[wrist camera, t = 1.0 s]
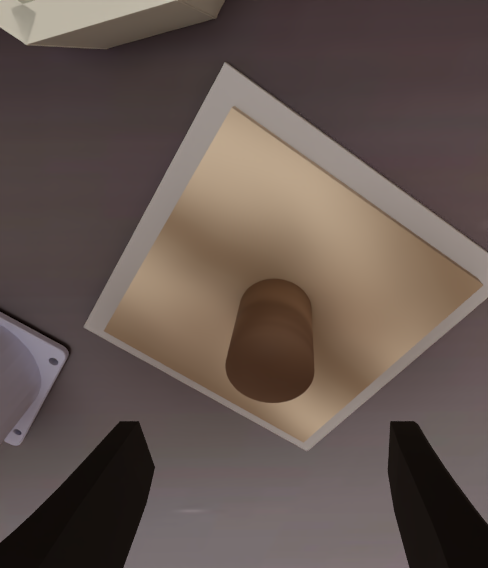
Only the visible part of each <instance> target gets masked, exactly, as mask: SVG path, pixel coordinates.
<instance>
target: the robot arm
mask: <svg viewBox="0 0 488 568" xmlns="http://www.w3.org/2000/svg"><path fill="white" fill-rule="evenodd" d="M68 356H69V352H68V350H67V349H66V348H65V347H64V346H63V345H61V344H59V343H57V342H55V341H53V340H52V339H50V338H48V337H46V336H44V335H42V334H40V333H39V332H37V331H35V330H33V329H31V328H29V327H27V326H26V325H24V324H22V323H20V322H18V321H16V320H14V319H13V318H11V317H9V316H7V315H5V314H3V313H2V312H0V444H1V443H2V442H3V441H5V442H7V443H9V444H11V445H14V446H17V445H20V444H21V443H22V441H23V440H24V438H25V436H26V434H27V433H28V431H29V429H30V427H31V425H32V423H33V421H34V419H35V418H36V416H37V414H38V412H39V410H40V408H41V406H42V405H43V403H44V401H45V399H46V397H47V395H48V393H49V391H50V390H51V388H52V386H53V384H54V382H55V380H56V378H57V377H58V375H59V373H60V371H61V369H62V367H63V365H64V363H65V362H66V360H67V358H68ZM54 358H55V359H56V360H55V359H54ZM154 469H155V466H154V463H153V461H152V458H151V455H150V452H149V449H148V446H147V443H146V440H145V437H144V435H143V432H142V429H141V426H140V423H139V421H120V422H119V423H118V424H117V425H116V426H115V427H114V428H113V430H112V431H111V432H110V433H109V434H108V435H107V436H106V437H105V438H104V439H103V440H102V442H101V443H100V444H99V445H98V446H97V447H96V448H95V449H94V450H93V451H92V453H91V454H90V455H89V456H88V457H87V458H86V459H85V460H84V461H83V462H82V464H81V465H80V466H79V467H78V468H77V469H76V470H75V471H74V472H73V473H72V474H71V475H70V476H69V477H68V478H67V479H66V481H65V482H64V483H63V484H62V485H61V486H60V487H59V488H58V489H57V490H56V491H55V492H54V493H53V494H52V495H51V496H50V497H49V498H48V499H47V500H46V501H45V502H44V503H43V504H42V505H41V506H40V507H39V508H38V509H37V510H36V511H35V512H34V513H33V514H32V515H31V516H30V517H29V518H27V519H26V520H25V521H24V522H23V523H22V524H21V525H20V526H19V527H18V528H17V529H16V530H14V531H13V532H12V533H11V534H10V535H9V536H8V537H6V538H5V539H4V540H3V541H2V542H1V543H0V568H123V567H124V564H125V561H126V559H127V556H128V553H129V550H130V548H131V545H132V542H133V539H134V537H135V534H136V531H137V528H138V526H139V523H140V520H141V517H142V514H143V512H144V509H145V506H146V503H147V499H148V495H149V491H150V487H151V482H152V478H153V473H154ZM388 476H389V482H390V489H391V495H392V500H393V506H394V512H395V516H396V520H397V523H398V527H399V531H400V534H401V538H402V542H403V546H404V549H405V553H406V557H407V560H408V564H409V568H488V524H487V523H486V522H485V520H484V519H483V518H482V517H481V515H480V514H479V513H478V511H477V510H476V509H475V508H474V506H473V505H472V504H471V502H470V501H469V500H468V498H467V497H466V496H465V494H464V493H463V492H462V490H461V489H460V487H459V486H458V485H457V483H456V482H455V481H454V479H453V478H452V476H451V475H450V474H449V472H448V471H447V469H446V468H445V466H444V465H443V463H442V462H441V460H440V459H439V457H438V456H437V454H436V453H435V451H434V450H433V448H432V447H431V445H430V444H429V442H428V440H427V439H426V437H425V435H424V434H423V432H422V430H421V429H420V427H419V425H418V424H417V423H416V422H414V421H390V439H389V458H388Z"/></svg>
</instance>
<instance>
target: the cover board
mask: <svg viewBox="0 0 488 568" xmlns="http://www.w3.org/2000/svg"><path fill="white" fill-rule="evenodd" d="M482 286H483V284H482V283H481V281H480V280H479V279H478V278H477V277H476V276H474V275H473V274H471V273H470V272H468V271H467V270H466V269H464V268H463V267H461V266H460V265H459V264H457V263H456V262H454V261H453V260H452V259H450V258H449V257H447V256H446V255H444V254H443V253H442V252H440V251H439V250H437V249H436V248H435V247H433V246H432V245H430V244H429V243H427V242H426V241H425V240H423V239H422V238H420V237H419V236H418V235H416V234H415V233H413V232H412V231H411V230H409V229H408V228H406V227H405V226H403V225H402V224H401V223H399V222H398V221H396V220H395V219H394V218H392V217H391V216H389V215H388V214H386V213H385V212H384V211H382V210H381V209H379V208H378V207H377V206H375V205H374V204H372V203H371V202H370V201H368V200H367V199H365V198H364V197H362V196H361V195H360V194H358V193H357V192H355V191H354V190H353V189H351V188H350V187H348V186H347V185H345V184H344V183H343V182H341V181H340V180H338V179H337V178H336V177H334V176H333V175H331V174H330V173H329V172H327V171H326V170H324V169H323V168H321V167H320V166H319V165H317V164H316V163H314V162H313V161H312V160H310V159H309V158H307V157H306V156H304V155H303V154H302V153H300V152H299V151H297V150H296V149H295V148H293V147H292V146H290V145H289V144H288V143H286V142H285V141H283V140H282V139H280V138H279V137H278V136H276V135H275V134H273V133H272V132H271V131H269V130H268V129H266V128H265V127H263V126H262V125H261V124H259V123H258V122H256V121H255V120H254V119H252V118H251V117H249V116H248V115H247V114H245V113H244V112H242V111H241V110H239V109H238V108H237V107H235V106H233V107H232V108H231V110H230V111H229V113H228V115H227V116H226V118H225V120H224V122H223V123H222V125H221V127H220V129H219V130H218V132H217V134H216V136H215V137H214V139H213V141H212V143H211V144H210V146H209V148H208V150H207V151H206V153H205V155H204V157H203V158H202V160H201V162H200V164H199V165H198V167H197V169H196V171H195V172H194V174H193V176H192V178H191V179H190V181H189V183H188V185H187V186H186V188H185V190H184V192H183V193H182V195H181V197H180V199H179V200H178V202H177V204H176V205H175V207H174V209H173V211H172V212H171V214H170V216H169V218H168V219H167V221H166V223H165V225H164V226H163V228H162V230H161V232H160V233H159V235H158V237H157V239H156V240H155V242H154V244H153V246H152V247H151V249H150V251H149V253H148V254H147V256H146V258H145V260H144V261H143V263H142V265H141V267H140V268H139V270H138V272H137V274H136V275H135V277H134V279H133V281H132V282H131V284H130V286H129V288H128V289H127V291H126V293H125V294H124V296H123V298H122V300H121V301H120V303H119V305H118V307H117V308H116V310H115V312H114V314H113V315H112V317H111V319H110V321H109V322H108V324H107V326H106V328H105V329H104V332H106V333H108V334H110V335H111V336H113V337H115V338H117V339H119V340H120V341H122V342H124V343H126V344H127V345H129V346H131V347H133V348H135V349H136V350H138V351H140V352H142V353H144V354H145V355H147V356H149V357H151V358H153V359H154V360H156V361H158V362H160V363H162V364H163V365H165V366H167V367H169V368H171V369H172V370H174V371H176V372H178V373H179V374H181V375H183V376H185V377H187V378H188V379H190V380H192V381H194V382H196V383H197V384H199V385H201V386H203V387H205V388H206V389H208V390H210V391H212V392H214V393H215V394H217V395H219V396H221V397H223V398H224V399H226V400H228V401H230V402H231V403H233V404H235V405H237V406H239V407H240V408H242V409H244V410H246V411H248V412H249V413H251V414H253V415H255V416H257V417H258V418H260V419H262V420H264V421H266V422H267V423H269V424H271V425H273V426H275V427H276V428H278V429H280V430H282V431H284V432H285V433H287V434H289V435H291V436H292V437H294V438H296V439H298V440H300V441H301V442H303V443H304V442H305V441H306V440H307V439H308V438H309V437H311V436H312V435H313V434H314V433H315V432H316V431H317V430H319V429H320V428H321V427H322V426H323V425H324V424H325V423H327V422H328V421H329V420H330V419H331V418H332V417H333V416H335V415H336V414H337V413H338V412H339V411H340V410H341V409H343V408H344V407H345V406H346V405H347V404H348V403H349V402H351V401H352V400H353V399H354V398H355V397H356V396H357V395H359V394H360V393H361V392H362V391H363V390H364V389H365V388H367V387H368V386H369V385H370V384H371V383H372V382H373V381H375V380H376V379H377V378H378V377H379V376H380V375H381V374H383V373H384V372H385V371H386V370H387V369H388V368H390V367H391V366H392V365H393V364H394V363H395V362H396V361H398V360H399V359H400V358H401V357H402V356H403V355H404V354H406V353H407V352H408V351H409V350H410V349H411V348H412V347H414V346H415V345H416V344H417V343H418V342H419V341H420V340H422V339H423V338H424V337H425V336H426V335H427V334H428V333H430V332H431V331H432V330H433V329H434V328H435V327H436V326H438V325H439V324H440V323H441V322H442V321H443V320H444V319H446V318H447V317H448V316H449V315H450V314H451V313H452V312H454V311H455V310H456V309H457V308H458V307H459V306H460V305H462V304H463V303H464V302H465V301H466V300H467V299H468V298H470V297H471V296H472V295H473V294H474V293H475V292H476V291H478V290H479V289H480V288H481V287H482Z"/></svg>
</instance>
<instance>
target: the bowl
mask: <svg viewBox="0 0 488 568" xmlns="http://www.w3.org/2000/svg"><path fill="white" fill-rule="evenodd" d="M224 1H225V0H0V27H1V28H2V29H4V30H5V31H7V32H8V33H10V34H11V35H13V36H14V37H16V38H17V39H19V40H20V41H22V42H23V43H25V45H32V46H52V47H72V48H92V49H108V48H112V47H115V46H119V45H122V44H126V43H129V42H133V41H137V40H140V39H144V38H147V37H151V36H154V35H158V34H162V33H165V32H169V31H172V30H176V29H180V28H183V27H187V26H190V25H194V24H197V23H201V22H205V21H208V20H212V19H216V18H217V15H218V13H219V11H220V9H221V7H222V5H223V3H224Z"/></svg>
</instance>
